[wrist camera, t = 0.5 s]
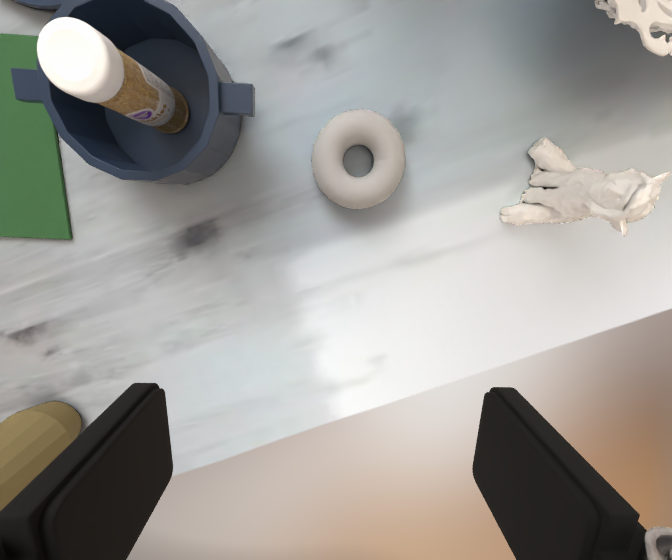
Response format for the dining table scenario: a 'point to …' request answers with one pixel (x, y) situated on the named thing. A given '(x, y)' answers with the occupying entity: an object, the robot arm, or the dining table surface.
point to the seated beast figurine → (582, 192)
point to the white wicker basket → (643, 20)
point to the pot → (170, 66)
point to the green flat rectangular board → (28, 155)
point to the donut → (355, 131)
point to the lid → (42, 3)
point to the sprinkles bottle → (107, 75)
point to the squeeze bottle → (33, 444)
